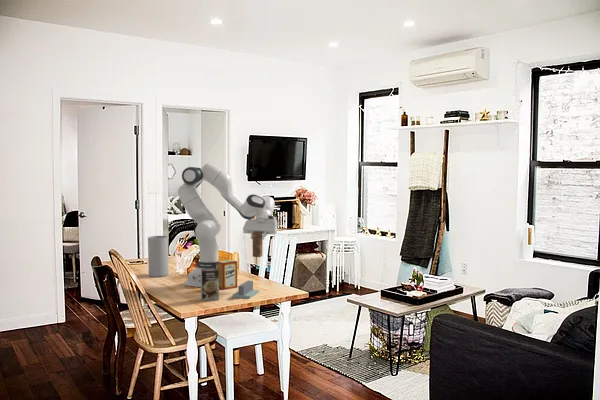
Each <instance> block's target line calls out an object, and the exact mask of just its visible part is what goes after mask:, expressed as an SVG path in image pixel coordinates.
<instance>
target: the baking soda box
mask: <svg viewBox="0 0 600 400" xmlns="http://www.w3.org/2000/svg"><path fill="white" fill-rule="evenodd" d="M217 269H218V270H219V290H222V291H224V290H231V289H236V288H237V289H238V261H237V260H234V259H225V260H219V261H217Z"/></svg>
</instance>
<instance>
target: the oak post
mask: <svg viewBox="0 0 600 400" xmlns="http://www.w3.org/2000/svg"><path fill="white" fill-rule="evenodd" d="M262 235H263V234H262V232H253V233H252V239H251V240H252V258H261V257H263V240H261V238H260V237H261V236H262Z"/></svg>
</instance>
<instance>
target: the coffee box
mask: <svg viewBox="0 0 600 400" xmlns="http://www.w3.org/2000/svg"><path fill="white" fill-rule="evenodd" d="M200 298H201V301H202V302H205V301H207V302H208V301H219V300H220V289H219V270H218V269H201V287H200Z"/></svg>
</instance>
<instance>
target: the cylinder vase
mask: <svg viewBox="0 0 600 400" xmlns="http://www.w3.org/2000/svg"><path fill="white" fill-rule="evenodd" d="M147 255H148V257H147V259H148V260H147V261H148V264H147V265H148V276H149V277H150V278H151V277H152V278H163V277H166V276H168V275H169V272H170V271H169V236H167V235H152V236H148V237H147Z"/></svg>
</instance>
